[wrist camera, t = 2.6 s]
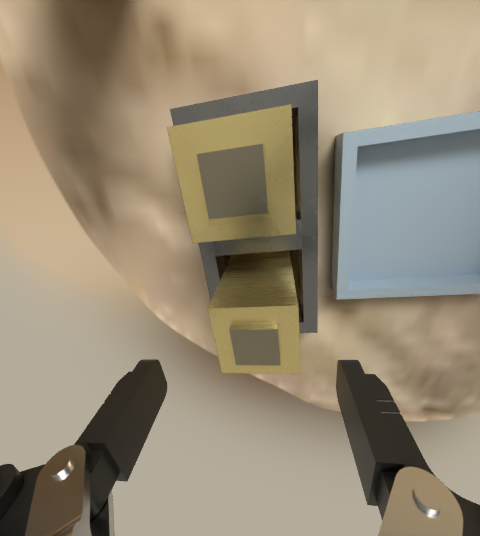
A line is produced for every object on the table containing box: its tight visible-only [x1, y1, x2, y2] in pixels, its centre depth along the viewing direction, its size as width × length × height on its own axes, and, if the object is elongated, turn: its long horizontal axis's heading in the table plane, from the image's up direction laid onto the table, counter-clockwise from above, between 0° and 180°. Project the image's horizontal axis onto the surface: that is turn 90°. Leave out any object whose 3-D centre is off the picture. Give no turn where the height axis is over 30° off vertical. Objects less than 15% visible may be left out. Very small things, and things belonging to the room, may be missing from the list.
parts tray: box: [331, 111, 480, 300], centre depth 15 cm, size 11×11×2 cm
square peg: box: [167, 104, 296, 243], centre depth 12 cm, size 4×4×8 cm
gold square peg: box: [208, 250, 301, 374], centre depth 16 cm, size 4×4×8 cm
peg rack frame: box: [170, 80, 318, 333], centre depth 17 cm, size 8×16×2 cm, turn 7°
